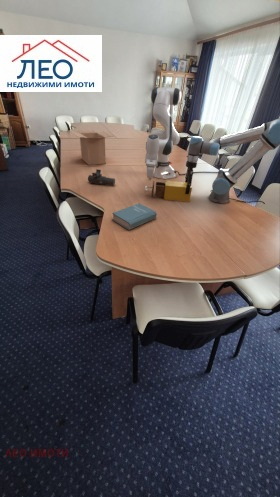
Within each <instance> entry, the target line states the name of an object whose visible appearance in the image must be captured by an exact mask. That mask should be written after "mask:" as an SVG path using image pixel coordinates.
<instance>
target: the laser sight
mask: <svg viewBox="0 0 280 497" xmlns="http://www.w3.org/2000/svg"><path fill="white" fill-rule="evenodd" d="M101 172H102V170H101V169H97V168H96V170H95V172H92V173H91V174H89V175H88V177H87V182H88V183H90V184H95V185H101V186H102V185H103V186H106V185H108V186H115V185H116V178H113V177H106V176H104V175H103V174H102V173H101Z"/></svg>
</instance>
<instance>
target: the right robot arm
mask: <svg viewBox="0 0 280 497" xmlns="http://www.w3.org/2000/svg"><path fill="white" fill-rule="evenodd" d="M253 142H256V143H255V144H254V145H253V146H251V148H249V150H247V151H246V152H245V153H244V154H243V155H242V156H241V157H240V158H239V159H238V160H237V161H236V162H235V163H234V164H233V165H232V166H231V167H230V168H227V169H226V168H219V169H218V171H217V172H218V173H217V174H216V177H215V179H214V180H213V181H212V185H211V188H212V189H211V190H210V193H209V196H208V199H209V200H210V201H211V202H213V203H216V204H221V205H222V204H228V203H229V202H230V200H232V201H236V202H240V203H248V204H249V203H262V204H263V205H266V202H264V201H262V200H251V201H246V200H245V201H244V200H240V199H236V198H231V197H230V191H231V189H232V188H233V187H234V186H235V185H236V184H237V183H238V179H240V177H242V175H244V174H245V173H246V172H247V171H248V170H249V169H251V168H252V167H253V166H254V165H255V164H256V163H257V162H258V161H260V160H261V159H262V158H263V157H264V156H265V155H266V154H268V152H270V151H271V150H272V151H273V150H275V149H276V148H278V147H279V146H280V118H276V119H274V120H272V121H269V122H266V123H263V124H262V125H261V126H257V127H254V128H250V129H246V130H243V131H238V132H235V133H232V134H228V135H224V136H221V137H217V138H211V139H210V140H209V141H205V140H203V137H202V136H199V135H198V136H196V135H195V136H191V137H190V142H189V144H188V145H189V146H188V151H187V155H186V162H185V167H186V168H187V169H186V173H185V177H184V178H185V179H184V182H187V185H186V191H185V194H189V191H190V186H192V182H193V175H194V173H193V172H194V169H196V168H197V165H198V161H199V157H200V154H203V155H206V156H207V155H208V156H217V155H218V153H219V151H220V150H223V149H226V148H231V147H235V146H239V145H240V146H241V145H245V144H248V143H253Z"/></svg>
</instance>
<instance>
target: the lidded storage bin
mask: <svg viewBox="0 0 280 497" xmlns="http://www.w3.org/2000/svg"><path fill="white" fill-rule="evenodd" d="M164 183H165V194H164V197H163V200H164V201H165V200H166V201H177V202H186V203H188V202H189V203H190V200H191V195H192V192H193V186H192V185H191V186H190V191H189V194H185V191H186V185H187V182H185V181H176V180H175V181H174V180H165V181H164Z"/></svg>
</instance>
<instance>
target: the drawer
mask: <svg viewBox="0 0 280 497" xmlns="http://www.w3.org/2000/svg"><path fill="white" fill-rule="evenodd" d="M148 188H149V189H148ZM147 191H148V192H151V198H154V197H156V198H164V194H165V181H164V182H162V181H156V182H155V180H152V186H148V185H145V186H144V192H147Z"/></svg>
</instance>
